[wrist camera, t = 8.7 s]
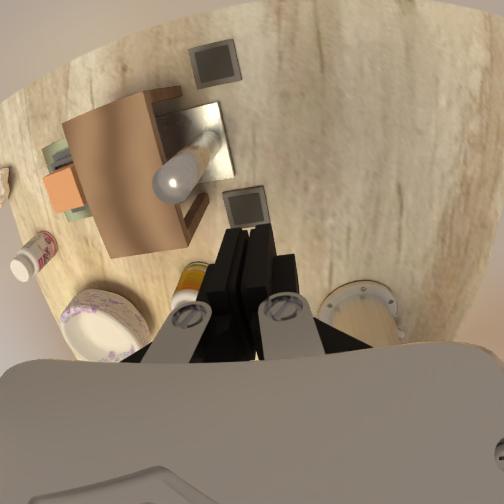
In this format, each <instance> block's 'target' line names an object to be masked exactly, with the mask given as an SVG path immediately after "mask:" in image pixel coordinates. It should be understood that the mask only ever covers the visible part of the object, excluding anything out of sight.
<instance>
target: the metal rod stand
mask: <svg viewBox="0 0 504 504" xmlns="http://www.w3.org/2000/svg"><path fill="white" fill-rule="evenodd" d="M155 120H156V124H157V127H158V131H159V135H160V139H161V142H162V146H163V150H164V153H165V157H166V160H167V163H165V164H164V165H163V166H162V167H161V168H160V169H159V170H157V171H156V173H155V174H154V176H153V179H152V188H153V191H154V193H155V195H156V196H157V197H158V198H159V199H160V200H161V201H163V202H165V203H168V204H178V203H181V202H183V201H184V200H185V199H186V198H187V197H188V196H189V194H190V193H191V191H192V190H193V188H194V187H195V185H196V184H201V183H206V182H211V181H217V180H222V179H228V178H234V176H235V173H234V168H233V164H232V159H231V155H230V150H229V146H228V141H227V137H226V133H225V128H224V124H223V119H222V115H221V110H220V106H219V102H216V103H211V104H207V105H203V106H198V107H194V108H190V109H186V110H182V111H179V112H175V113H171V114H167V115H164V116H160V117H157V118H155ZM52 158H53V161H54V163H52V164H50V166H51V169H52V171H53V172H54V171H55V170H57V169H59V168H60V167H62V166H64V165H67V164H69V163H72V162H73V159H72V156H71V153H70V150H69V148H68V149H65V150H63V151H61V152H58V153H56V154H54V155H52ZM87 209H90V207H89V205H88V203H87V204H85V205H84V206H81V207H78V208H74V209H71V211H72V213H75V212H79V211H83V210H87ZM67 211H68V210H67Z"/></svg>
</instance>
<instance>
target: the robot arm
mask: <svg viewBox="0 0 504 504" xmlns="http://www.w3.org/2000/svg"><path fill="white" fill-rule="evenodd" d="M396 313H397V303H396V299H395V297H394V295H393V293H392V292H391V291H390V290H389V289H388V288H387V287H386V286H384V285H382V284H380V283H376V282H373V281H359V282H354V283H350V284H347V285H344V286H342V287H340V288H338V289H337V290H335V291H334V292H333V293H331V294H330V295H329V296H328V297H327V298H326V299H325V300H324V302H323V304H322V305H321V307H320V310H319V315H318V319H316V318H314V317H313V316H312V313H311V310H310V307H309V304H308V302H307V300H306V299H305V297H303V296H302V295H300V294H299V284H298V275H297V268H296V261H295V255H294V254H287V255H279V256H277V254H276V248H275V243H274V237H273V232H272V226H271V223H266V224H259V225H256V227H255V229H251V231H250V237H249V235H248V231H247V230H242V228H241V227H238V228H231V229H226V232H225V235H224V238H223V241H222V244H221V247H220V250H219V253H218V256H217V259H216V262H215V264H209V265H208V267H207V269H206V272H205V275H204V278H203V281H202V283H201V286H200V289H199V292H198V295H197V298H196V301H192V302H188V303H184V304H182V305H180V306H178V307H177V308H175V309H174V310H173V311H172V312H171V313H170V314H169V316H168V317H167V319H166V321H165V322H164V324H163V325H162V327H161V329H160V330H159V332H158V334H157V335H156V337H155V339H154V340H153V342H151V343H149V344H148V345H146V346H144V347H143V348H141V349H140V350H138V351H136V352H135V353H133V354H131V355H130V356H128V357H127V358H125V359H123V360H122V361H120V362H119V363H117V362H96V361H80V360H61V359H38V360H32V361H26V362H23V363H20V364H17V365H15V366H13V367H11V368H9V369H8V370H7V371H6V372H5V373H4V374H3V375H2V376H1V377H0V504H504V362H503V361H502V360H501V359H500V358H499V357H498V356H497V355H496V354H494V353H493V352H492V351H490V350H487V349H486V348H484V347H481V346H477V345H474V344H469V343H462V342H453V341H425V342H414V343H405V344H402V343H401V341H400V339H399V338H404V337H405V334H406V332H405V331H404V330H402V329H399V328H397V325H396V323H395V320H394V319H395V317H396ZM256 352H257V355H258V359H259V360H258V361H250V360H255V355H256Z"/></svg>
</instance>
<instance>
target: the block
mask: <svg viewBox="0 0 504 504" xmlns="http://www.w3.org/2000/svg"><path fill="white" fill-rule="evenodd" d="M42 179H43V182H44V184H45V187H46V190H47V192H48V195H49V198H50V200H51V203H52V205H53V208H54V210H55V213H56V214H57V213H60V212H64V211H67V210H71V209H74V208H78V207H81V206H84V205H85V204H87V203H88V202H87V199H86V197H85V194H84V191H83V188H82V186H81V183H80V180H79V177H78V174H77V171H76V168H75V165H74V162H72V163H69V164H67V165H64V166H62V167H60V168H59V169H57V170H55V171H54V172H52V173H50V174H49V175H47V176H45V177H44V178H42Z"/></svg>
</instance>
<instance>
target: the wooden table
mask: <svg viewBox="0 0 504 504" xmlns="http://www.w3.org/2000/svg"><path fill="white" fill-rule="evenodd" d="M188 51H189V56H190V60H191V64H192V69H193V73H194V77H195V82H196V86H197V90H198V89H202V88H206V87H210V86H215V85H219V84H224V83H228V82H233V81H238V80H242V79H241V74H240V69H239V65H238V60H237V56H236V51H235V46H234V42H233V39H229V40H224V41H220V42H215V43H211V44H207V45H203V46H199V47H195V48H192V49H188ZM181 95H182V91H181V87H180V86H174V87H167V88H160V89H154V90H148V91H142V92H139V93H136V94H134V95H131V96H128V97H125V98H122V99H120V100H117V101H114V102H112V103H109V104H106V105H104V106H101V107H99V108H96V109H94V110H92V111H89V112H87V113H84V114H82V115H80V116H77V117H75V118H73V119H71V120H69V121H66V122H64V123H62V126H63V130H64V133H65V137H66V138H65V139H63V140H60V141H58V142H56V143H54V144H51V145H49V146H47V147H45V148H43V149H42V152H43V155H44V158H45V161H46V164H47V167H48V170H49V173H52V172H53V171H52V169H51V166H50V164H52V163H54V161H53V158H52V155H54V154H56V153H58V152H61V151H63V150H65V149H68V148H69V150H70V153H71V156H72V159H73V162H74V165H75V168H76V171H77V174H78V177H79V180H80V183H81V186H82V188H83V191H84V194H85V197H86V199H87V202H88V205H89V207H90V209H87V210H83V211H79V212H75V213H72V211H71V210H68V211H64V213H65V215H66V218H67V220H68V222H71V221H75V220H78V219H82V218H86V217H90V216H93V218H94V220H95V223H96V225H97V228H98V230H99V232H100V235H101V237H102V240H103V242H104V244H105V247H106V249H107V251H108V254H109V256H110V258H111V259H113V258H119V257H126V256H133V255H139V254H146V253H153V252H159V251H166V250H173V249H180V248H187V247H188V246H189V244H190V242H191V240H192V237H193V235H194V233H195V231H196V229H197V227H198V225H199V223H200V221H201V218H202V216H203V214H204V212H205V210H206V208H207V206H208V204H209V199H208V195H207V193H206V194H201V195H198V196H197V197H196V199H195V201H194V202H193V204H192V206H191V208H190V209H189V211H188V213H187V214H186V216H185V218H183V215H182V212H181V208H180V205H179V203H178V204H168V203H165V202H163V201H161V200H160V199H159V198H158V197H157V196H156V195H155V193H154V191H153V188H152V179H153V176H154V174H155V173H156V171H157V170H159V169H160V168H161V167H162V166H163V165H164V164H165V163H167V160H166V157H165V153H164V150H163V146H162V142H161V139H160V135H159V131H158V127H157V124H156V120H155V116H154V112H153V108H152V104H151V103H155V102H159V101H162V100H166V99H170V98H174V97H178V96H181ZM222 195H223V199H224V203H225V207H226V211H227V215H228V219H229V223H230V227H231V228H238V227H241V228H249V227H256V225H259V224H266V223H270V219H269V214H268V208H267V203H266V198H265V192H264V187H263V186H257V187H251V188H245V189H238V190H232V191H227V192H223V193H222Z"/></svg>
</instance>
